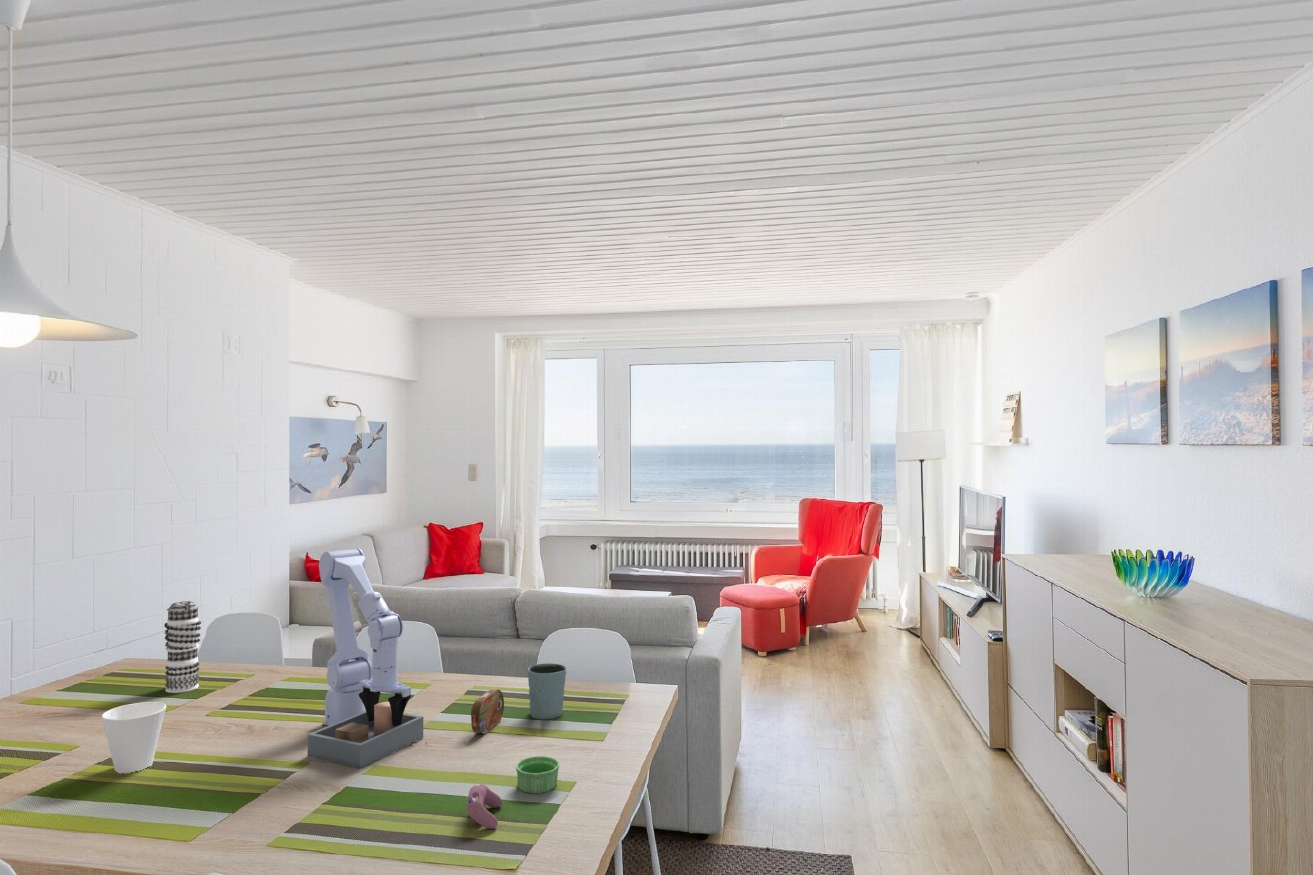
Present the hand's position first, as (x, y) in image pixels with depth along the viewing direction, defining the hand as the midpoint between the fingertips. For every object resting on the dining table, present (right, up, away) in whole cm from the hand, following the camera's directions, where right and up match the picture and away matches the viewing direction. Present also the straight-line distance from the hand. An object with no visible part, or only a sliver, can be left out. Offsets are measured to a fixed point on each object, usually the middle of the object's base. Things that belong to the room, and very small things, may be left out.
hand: (384, 722), depth 185 cm
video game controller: (+33, -4, -40) cm, 52 cm away
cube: (-4, -3, -9) cm, 11 cm away
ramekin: (+41, -4, -26) cm, 49 cm away
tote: (-2, -4, -5) cm, 7 cm away
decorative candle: (-73, -5, +39) cm, 83 cm away
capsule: (0, -3, 0) cm, 3 cm away
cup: (-49, -4, -17) cm, 52 cm away
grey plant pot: (+37, -5, +18) cm, 41 cm away
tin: (+23, -4, +8) cm, 25 cm away
